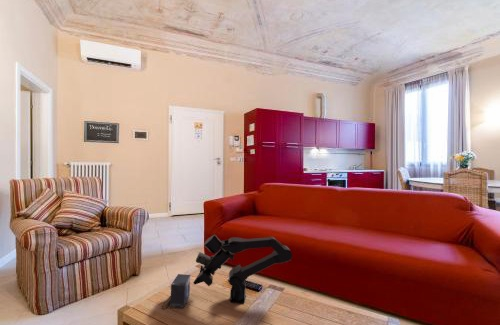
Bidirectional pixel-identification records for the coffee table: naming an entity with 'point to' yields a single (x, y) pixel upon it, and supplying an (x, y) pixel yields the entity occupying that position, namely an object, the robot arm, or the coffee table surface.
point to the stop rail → (166, 303)
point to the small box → (180, 291)
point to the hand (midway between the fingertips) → (194, 283)
